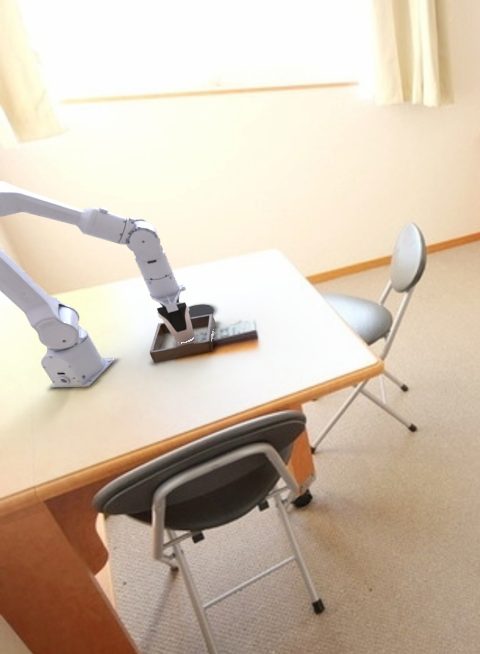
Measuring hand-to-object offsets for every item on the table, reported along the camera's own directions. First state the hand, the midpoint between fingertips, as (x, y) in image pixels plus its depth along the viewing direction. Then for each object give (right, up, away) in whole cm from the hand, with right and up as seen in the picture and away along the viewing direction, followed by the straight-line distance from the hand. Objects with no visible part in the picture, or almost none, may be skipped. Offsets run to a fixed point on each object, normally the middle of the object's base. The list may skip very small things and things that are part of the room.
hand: (179, 324), depth 118 cm
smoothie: (0, -5, +3) cm, 6 cm away
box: (0, -4, +3) cm, 5 cm away
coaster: (-5, +3, +14) cm, 15 cm away
